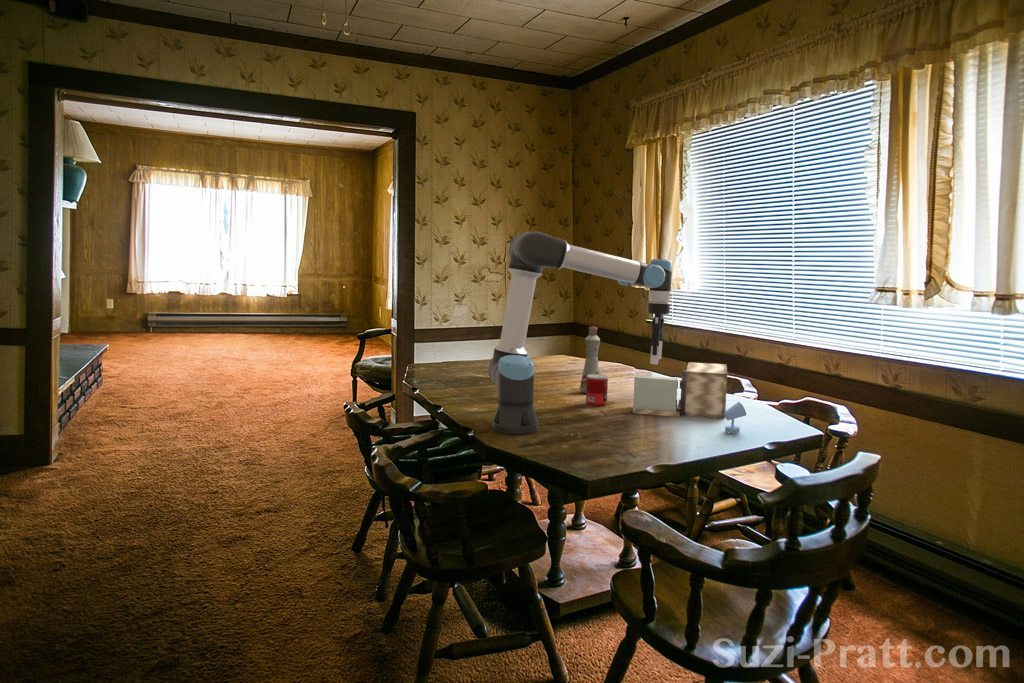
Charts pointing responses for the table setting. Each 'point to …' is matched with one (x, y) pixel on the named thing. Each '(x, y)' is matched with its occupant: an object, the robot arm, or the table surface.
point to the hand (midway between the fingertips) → (655, 361)
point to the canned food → (596, 390)
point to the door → (655, 393)
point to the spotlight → (734, 413)
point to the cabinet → (699, 392)
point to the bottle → (590, 357)
